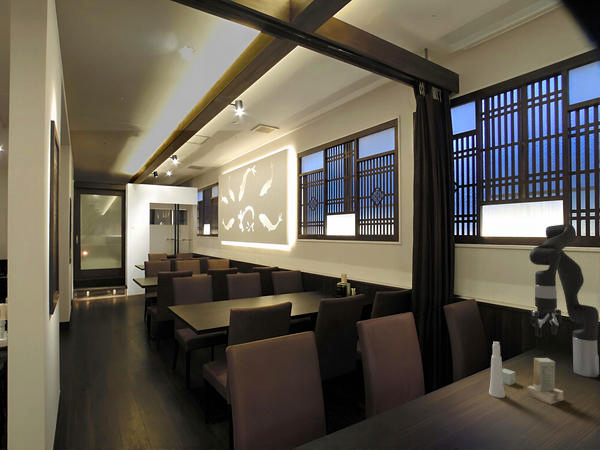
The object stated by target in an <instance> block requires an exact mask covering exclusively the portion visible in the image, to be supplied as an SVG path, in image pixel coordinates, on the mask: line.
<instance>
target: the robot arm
mask: <svg viewBox="0 0 600 450" xmlns="http://www.w3.org/2000/svg"><path fill="white" fill-rule="evenodd" d="M545 236H546V240H545V241H544V242H543V243H542V244H541V245H537V246H535V247H534V248H533V249H531V250H530V253H529V260H530V262H531V263H532V264H534V265H537V266H548V268H547V269H545V270H538V271H536V272H535V275H534V276H535V277H534V279H535V281H534V282H535V285H534V306H535V307H536V308H537V310H531V311H530V322H529V323H530V325H531V326H533V327H534V334H535V336H536V337H540V338H541V337H542V336H543V331H542V327H543V324H545V323H546V322H549V323H550V324H551V325H550V334H551V335H556V336H557V335H558V331H559V330H558V329H559V327H558V326H559V325H561V324H562V323H563V321H562V319H563V318H562V310H561V309H558V298H557V296H558V293H557V292H558V291H557V286H556V285H557V283H556V280H557V279H556V277H557V276H556V275H557V274H558V278H559V280H560V283H561V284H560V285H561V286H562V290H563V294H564V298H565V305H566V311H567V315H568V318H569V320H571V322H574V323H576V324H580V325H581V324H582V325H583V326H584V327H583V328H581V329H575V330H573V331H572V352H573V353H572V354H573V355H572V358H573V362H572V363H573V364H572V365H573V373H575V374H577V375H579V376H583V377H587V378H597V377H599V375H600V364H599V363H600V362H599V354H598V335H599V323H600V322H599V321H600V316H599V310H598V309H597V308H596V307H595V306H592V305H587V304H582V303H581V304H580V301H579V298H578V295H579V292H580V290H581V289H582V287H583V284H584V281H585V279H584V275H583V271H582V268H581V266H580V265H579V264H578V263H577V262H576V261H575V260H574V259H572V258H571V257H570V256H568V255H567V254H566V253H565V251H564V249H565V248H567V247H568V246H570V245H571V244H573V243H574V242H575V241H576V240H577V239H576V238H577V231H576V228H575V227H574V226H573V225H572V224H571V223H569V224H568V223H567V224H566V223H565V224H555V225H550V226H549V225H548V226H547V227H546V228H545Z"/></svg>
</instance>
